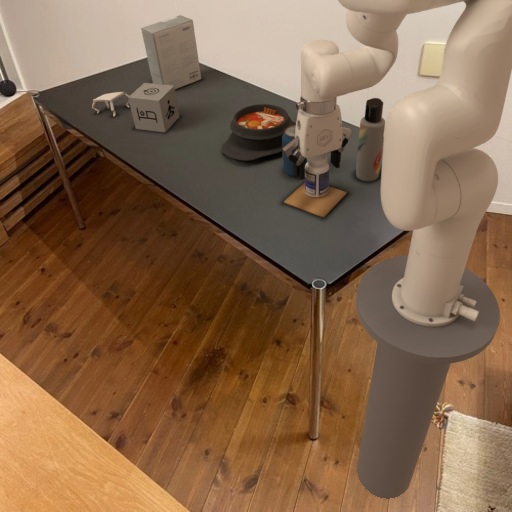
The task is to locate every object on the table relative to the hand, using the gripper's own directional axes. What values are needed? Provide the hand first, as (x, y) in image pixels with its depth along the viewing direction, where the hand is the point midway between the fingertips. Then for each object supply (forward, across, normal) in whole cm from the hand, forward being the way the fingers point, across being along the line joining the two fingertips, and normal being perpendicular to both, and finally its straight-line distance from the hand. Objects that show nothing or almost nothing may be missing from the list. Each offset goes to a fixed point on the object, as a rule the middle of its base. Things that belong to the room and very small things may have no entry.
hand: (317, 171), depth 119 cm
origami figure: (+6, -33, +71) cm, 78 cm away
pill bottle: (+6, 0, 0) cm, 6 cm away
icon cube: (+6, -24, +56) cm, 61 cm away
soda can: (+6, 0, +10) cm, 12 cm away
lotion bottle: (+6, +15, 0) cm, 16 cm away
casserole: (+6, -2, +28) cm, 29 cm away
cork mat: (+6, -1, -2) cm, 7 cm away
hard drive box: (+6, -10, +79) cm, 80 cm away
